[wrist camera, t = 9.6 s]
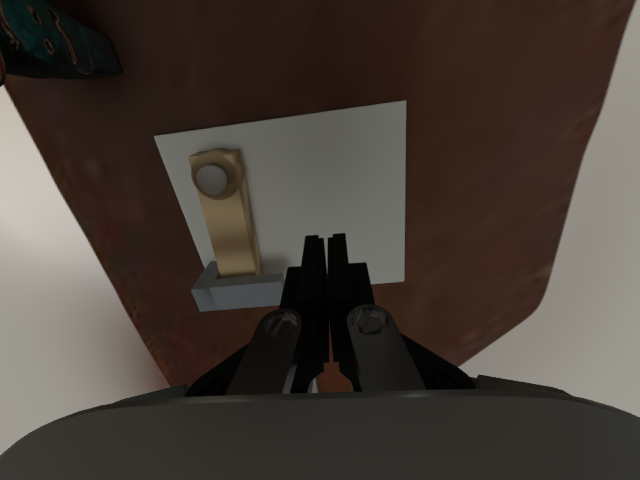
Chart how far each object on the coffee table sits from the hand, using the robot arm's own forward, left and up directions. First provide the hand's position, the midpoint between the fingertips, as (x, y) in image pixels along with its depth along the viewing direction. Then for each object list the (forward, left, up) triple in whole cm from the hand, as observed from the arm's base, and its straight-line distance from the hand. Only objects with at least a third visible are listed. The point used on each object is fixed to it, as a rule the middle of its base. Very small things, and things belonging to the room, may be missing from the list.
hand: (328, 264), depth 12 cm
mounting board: (+5, -4, -19) cm, 20 cm away
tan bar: (+6, -11, -18) cm, 22 cm away
